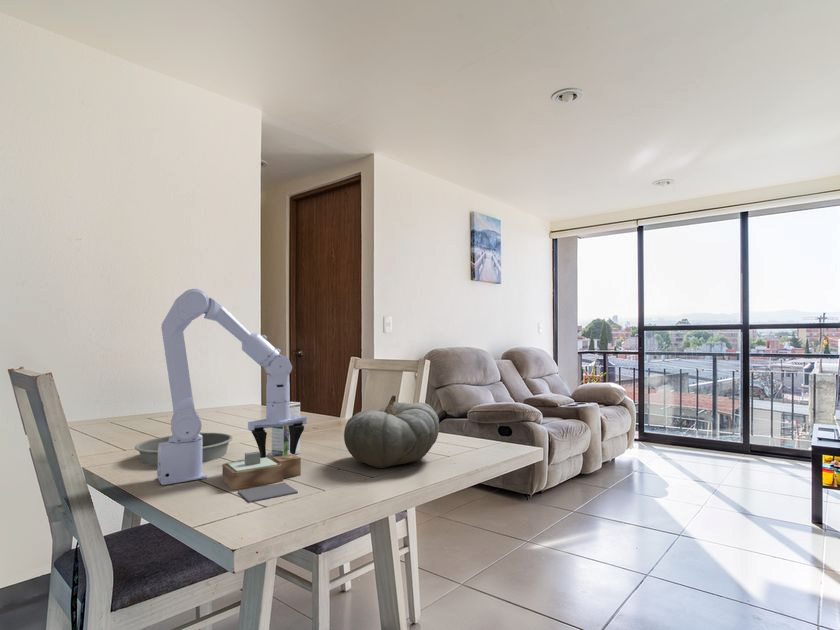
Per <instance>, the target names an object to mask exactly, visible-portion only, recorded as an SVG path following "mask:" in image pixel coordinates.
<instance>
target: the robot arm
mask: <svg viewBox="0 0 840 630" xmlns="http://www.w3.org/2000/svg"><path fill="white" fill-rule="evenodd" d="M203 314H204V317H203V318H204V319H205V320H210V321H215V322H217V324H219V326H221V327H222V328H224V329H225V330H227V332H229V333H230V334H231V335H232V336H233V337H235V338H236V339H237V340H238V341H239V342H241V351H243V352H244V353H245V354H246V355H247V356H248V357H250V358H251V359H252V360H253V361H254V362H255V363H257V364H258V366H259V367H263V369H264V372H265V373H266V385H265V388H266V389H265V390H266V391H265V392H266V393H265V394H266V396H265V397H266V398H265V400H266V401H265V404H266V405H265V407H266V409H265V413H266V415H265V417H266V418H265V419H258V420H252V421H247V430H248V431H251V434H252V435H253V438H254V440H255V441H256V445H257V449H258V452H260V458H266V457H267V453H266V452H267V449H266V447H267V446H266V444H267V435H268V433H267V431H266V429H272V427H281V426H288V427H289V434H290V453H291V454H295V453H296V448H297V444H298V441H299V438H300V439H301V435H302V433H303V432H304V430H305V425H306V424H308V423H307V419H308V418H307V416H305V415H300V416H294V417H290V402H291V401H290V399H291V397H290V390H291V389H290V388H291V387H290V384H291V383H290V374H291V372H292V370H293V365H292V363H291V361H290V359H289V357H287V356H286V355H282V354H280V353H281V352H282V351H281V349H279V348H278V347H277V348H276V347H275V346H273V344H272V343H270V342H269V341H268V340H267V339H268V336H266V335H265V334H260V333H259V332H253V333H252V332H251V331H249V330H248V329H247V327H245V326H244V325H243V324H242V322H240V321H239V320H238V319H237V318H236V317H235V316H234V315H233V314H232V313H231V312H229V310H227V309H226V308H225V307H224V306H223V305H222V304H220V303H219V302H218V301H217V300H216V299H214V298H212V297H211V296H210V297H209V296H208V295H207V294H206V292H204V291H203V290H201V289H198V288H190V289H187V290H186V291H184V292H183V293H182V294H180V295H179V296H178V297H177V298H176V299H175V300H174V301H173V303H172V306H171V307H170V309H169V311H168V313H167V314H166V316H165V317H164V319H163V321H162V323H161V327H160V328H161V334H162V341H163V347H164V349H163V350H164V356H165V361H166V362H165V363H166V368H167V376H168V381H169V388H170V389H169V391H170V396H171V403H172V411H173V414H172V417H171V420H170V425H171V426H170V432H171V434H172V435H170V436H171V437H169V441H167V442H163V443H159V445H158V466H157V468H156V475H157V476H156V478H157V480H158V481H159V483H160V484H161V486H165V485H172V484H177V483H185V482H190V481H195V480H196V481H197V480H203V479H207V478H208V475H207V474H206V473H205V472H204V471H203V462H202V445H203V438H202V437H203V436H202V435H200V434H199V433H201V430H202V421H201V419H200V416H199V413H198V412H197V411H196V409H195V403H194V396H193V390H192V383H191V377H190V371H189V369H190V368H189V361H188V356H187V355H188V354H187V350H186V341H185V334H184V331H185V330H186V328H187V327H189V325H190V324H191V323H192V321H193V320H195V319H197V318H199V317H201V316H202V315H203ZM286 423H287V424H286ZM273 424H278V425H273Z"/></svg>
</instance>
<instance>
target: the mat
mask: <svg viewBox="0 0 840 630" xmlns="http://www.w3.org/2000/svg"><path fill="white" fill-rule="evenodd" d="M298 493H299V492H298V490H297V489H295V488H294V487H292V486H291V485H289V484H287V483H286V482H285V481H283V482H278V483H272V484H270V485H269V484H268V485H263V486H257V487H253V488H246V489H242V490H241V489H240V490H238V494H240V496H242V497H243V499H244V500H246V501H247V502H248V503H254V502H258V501H262V500H269V499H272V498H273V499H274V498H278V497H284V496H289V495H294V494H298Z"/></svg>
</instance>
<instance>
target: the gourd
mask: <svg viewBox="0 0 840 630" xmlns="http://www.w3.org/2000/svg"><path fill="white" fill-rule="evenodd" d="M396 397H397V396H396V395H391V397H390V400H389V402H388V404H387V406H386V407H383V408H380V409H379V410H375V409H366V410H363V411H359V412H356V413H355V414H354V415H353V416H351V417H350V418H349V419H348V420H347V422H346V424H345V427H344V431H343V439H344V445H345V447H346V450H348V453H349V454H350V455H351V456H352V457H353V458H354V460H355V461H357V462H360V463H362V464H367V465H369V466H371V467H375V468H377V469H378V468H379V469H384V468H385V469H386V468H387V467H392V466H397V465H405V464H408V463H415V462H418V461H420V460H422V459H423V458H424V457H425V456H426V455H427V453H429V451H430V450H431V449H432V447H433V446H434V444H435V443H436V441H437V439H438V436H439V433H440V419H439V416H438V414H437V413H436V411H435V410H434V408H433V407H432V406H431V405H429V404H428V403H425V402H414V403H407V402H396Z"/></svg>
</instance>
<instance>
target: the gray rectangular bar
mask: <svg viewBox="0 0 840 630" xmlns="http://www.w3.org/2000/svg"><path fill="white" fill-rule="evenodd" d="M277 456H283V453H281V452H272V451H270V452H267V458H268V457H271V458H272V459H273V457H277Z"/></svg>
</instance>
